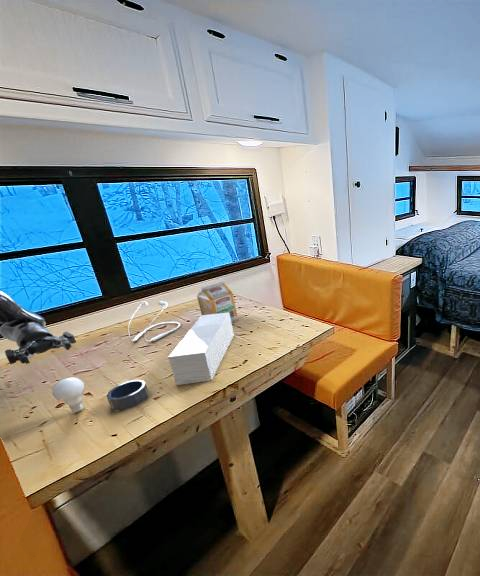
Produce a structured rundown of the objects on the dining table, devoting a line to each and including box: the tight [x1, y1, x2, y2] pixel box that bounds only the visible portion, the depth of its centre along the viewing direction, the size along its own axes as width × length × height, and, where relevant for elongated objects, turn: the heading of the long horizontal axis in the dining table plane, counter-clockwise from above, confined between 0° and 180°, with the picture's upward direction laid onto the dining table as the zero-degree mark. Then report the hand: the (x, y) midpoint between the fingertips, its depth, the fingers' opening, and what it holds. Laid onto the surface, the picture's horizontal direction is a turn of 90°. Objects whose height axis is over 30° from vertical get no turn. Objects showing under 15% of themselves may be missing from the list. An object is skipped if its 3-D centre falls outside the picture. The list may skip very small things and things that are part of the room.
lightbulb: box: [52, 377, 85, 413], centre depth 88 cm, size 6×6×11 cm
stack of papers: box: [167, 313, 235, 386], centre depth 114 cm, size 32×11×11 cm, turn 13°
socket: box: [106, 379, 150, 412], centre depth 93 cm, size 9×9×4 cm
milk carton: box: [196, 280, 239, 324], centre depth 140 cm, size 11×10×19 cm
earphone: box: [127, 300, 181, 343], centre depth 134 cm, size 14×17×18 cm
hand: (48, 353), depth 90 cm, fingers open, 8 cm apart
